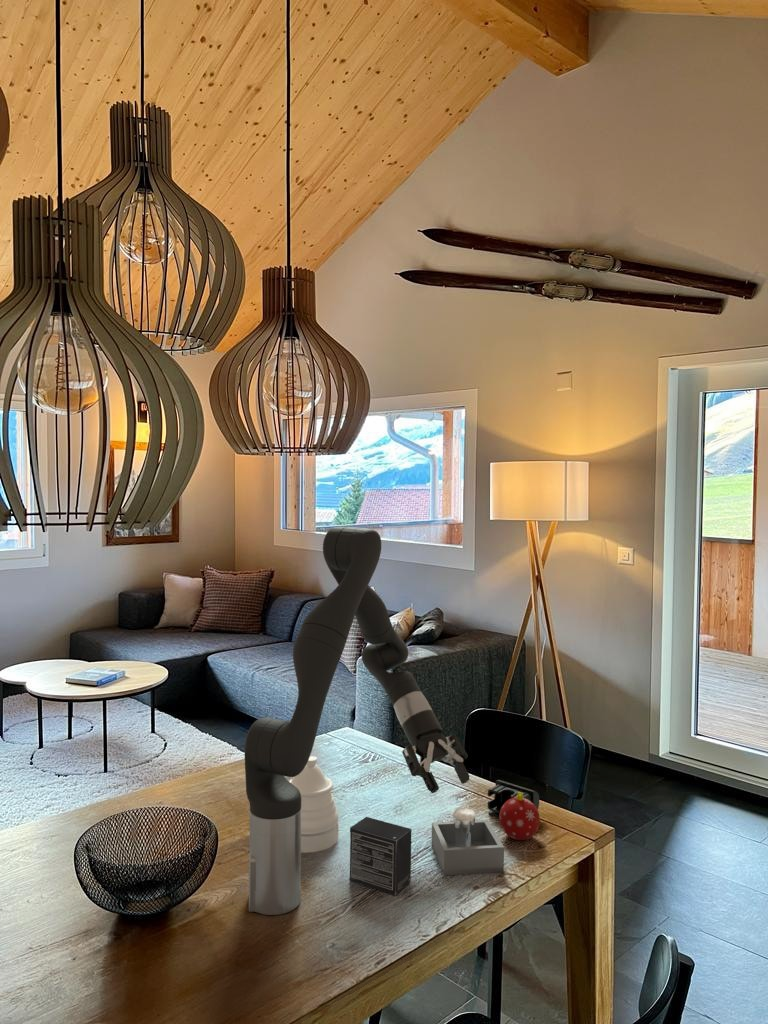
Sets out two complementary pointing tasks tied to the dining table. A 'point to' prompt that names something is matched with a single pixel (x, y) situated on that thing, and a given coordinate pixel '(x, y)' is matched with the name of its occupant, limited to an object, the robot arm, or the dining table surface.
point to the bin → (468, 850)
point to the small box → (380, 855)
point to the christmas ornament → (519, 818)
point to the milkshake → (464, 826)
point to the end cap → (508, 796)
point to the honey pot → (316, 809)
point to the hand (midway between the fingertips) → (451, 786)
